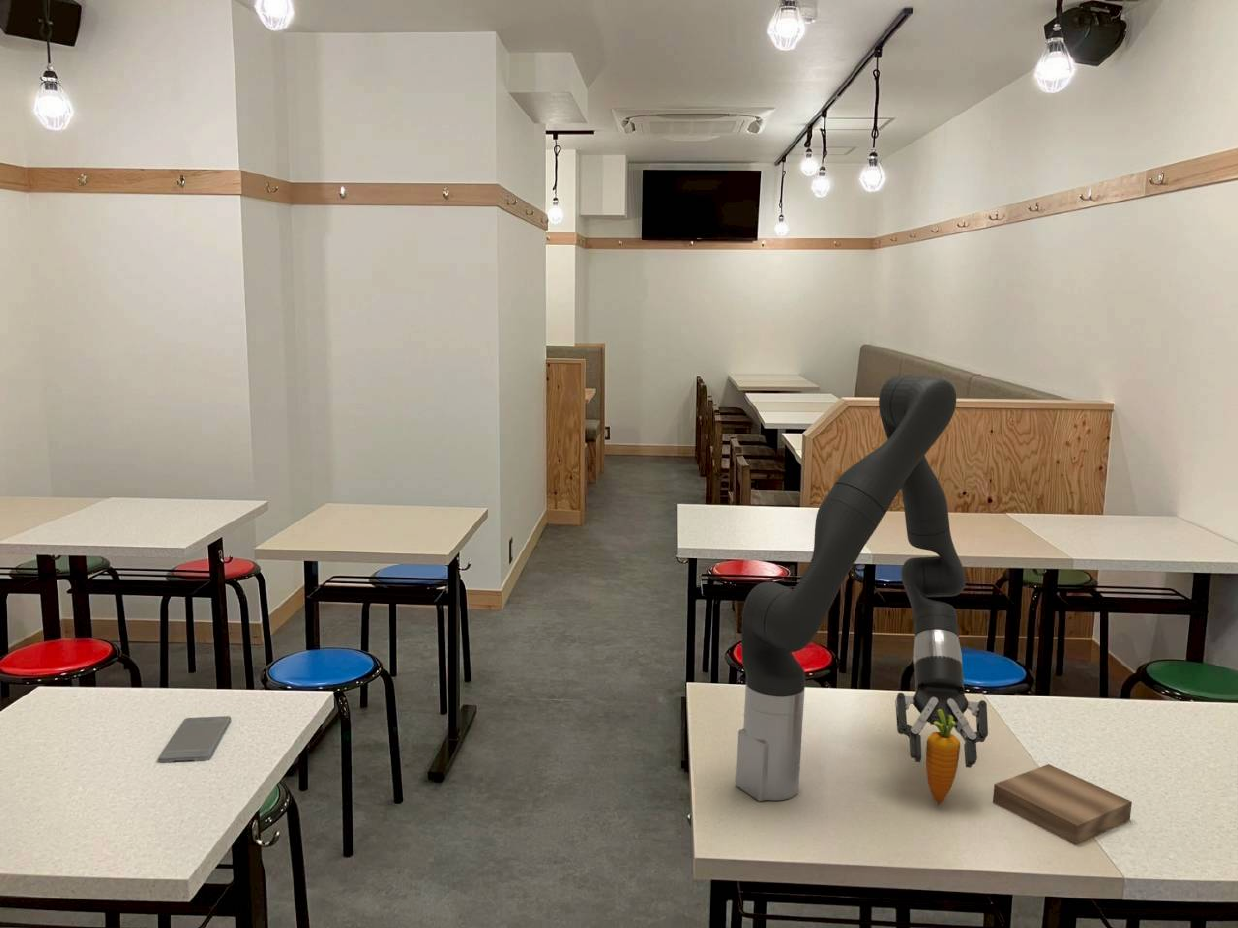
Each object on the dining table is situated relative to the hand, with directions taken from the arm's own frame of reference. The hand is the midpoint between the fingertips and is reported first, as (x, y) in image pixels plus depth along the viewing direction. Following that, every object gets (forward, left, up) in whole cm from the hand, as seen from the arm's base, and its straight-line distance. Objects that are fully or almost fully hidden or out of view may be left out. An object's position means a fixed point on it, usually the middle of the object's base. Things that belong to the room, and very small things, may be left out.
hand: (943, 762), depth 146 cm
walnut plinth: (+16, -10, -7) cm, 20 cm away
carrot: (+1, +1, -8) cm, 8 cm away
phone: (-95, +79, -8) cm, 124 cm away
